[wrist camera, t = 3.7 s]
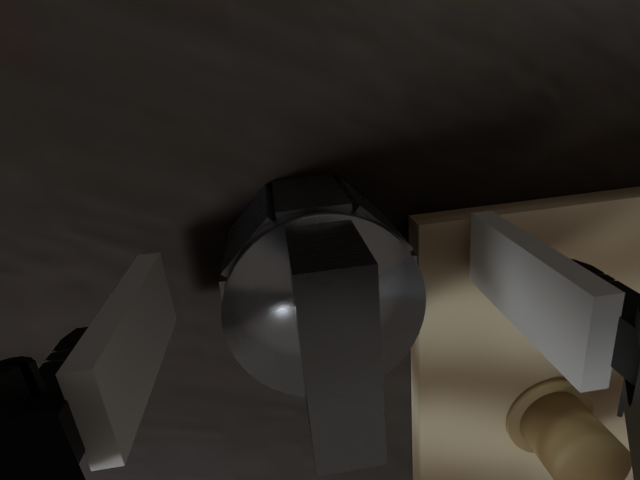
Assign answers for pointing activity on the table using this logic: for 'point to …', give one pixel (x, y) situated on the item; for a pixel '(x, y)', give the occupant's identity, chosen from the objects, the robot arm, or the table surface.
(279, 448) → the table surface
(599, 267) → the socket base
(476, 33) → the table surface
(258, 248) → the dark grey rounded piece
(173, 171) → the table surface
